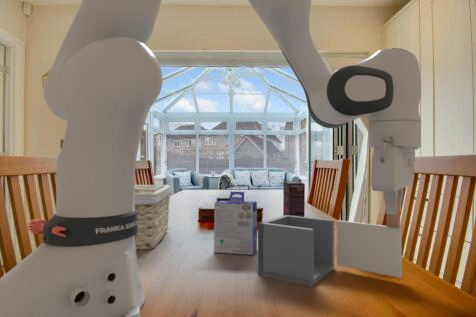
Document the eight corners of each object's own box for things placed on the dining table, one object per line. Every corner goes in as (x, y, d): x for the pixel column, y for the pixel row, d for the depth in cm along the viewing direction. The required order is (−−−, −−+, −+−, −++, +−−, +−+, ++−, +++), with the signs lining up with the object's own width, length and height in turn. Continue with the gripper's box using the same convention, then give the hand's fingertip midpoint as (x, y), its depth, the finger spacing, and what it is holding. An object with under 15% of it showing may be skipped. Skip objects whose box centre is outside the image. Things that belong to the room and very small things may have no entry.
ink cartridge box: (257, 249, 82) (257, 191, 83) (253, 256, 77) (254, 193, 77) (219, 247, 85) (219, 190, 85) (213, 253, 79) (213, 192, 79)
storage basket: (156, 251, 81) (156, 191, 81) (88, 252, 80) (89, 191, 80) (171, 230, 105) (172, 184, 105) (119, 231, 104) (120, 184, 104)
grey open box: (311, 286, 58) (311, 230, 58) (257, 274, 64) (258, 223, 64) (334, 268, 68) (334, 220, 68) (285, 259, 74) (285, 215, 74)
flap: (402, 275, 61) (402, 197, 61) (399, 278, 59) (399, 198, 60) (339, 263, 68) (339, 193, 68) (335, 266, 67) (335, 194, 67)
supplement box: (305, 238, 94) (305, 183, 94) (288, 239, 94) (288, 183, 94) (298, 232, 103) (298, 181, 103) (282, 232, 102) (282, 181, 103)
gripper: (403, 133, 51) (403, 223, 51) (419, 141, 68) (419, 208, 68) (361, 135, 55) (361, 218, 55) (386, 141, 72) (386, 205, 71)
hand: (393, 213), depth 61 cm, fingers open, 2 cm apart
